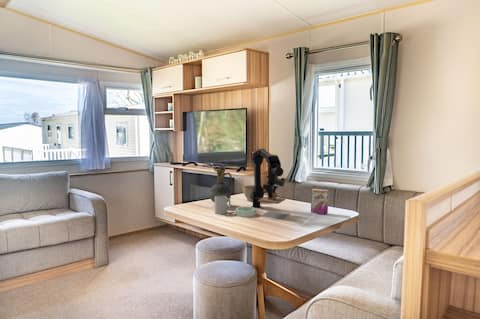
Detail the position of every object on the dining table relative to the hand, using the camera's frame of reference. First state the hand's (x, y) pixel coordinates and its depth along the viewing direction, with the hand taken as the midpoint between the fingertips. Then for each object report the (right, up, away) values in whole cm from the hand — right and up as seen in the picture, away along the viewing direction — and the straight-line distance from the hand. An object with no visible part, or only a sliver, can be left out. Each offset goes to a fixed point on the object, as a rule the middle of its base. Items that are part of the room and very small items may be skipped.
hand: (271, 197), depth 228 cm
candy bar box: (+33, -12, +9) cm, 37 cm away
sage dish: (-17, -12, +2) cm, 21 cm away
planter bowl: (-11, -8, +50) cm, 52 cm away
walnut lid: (0, -2, 0) cm, 2 cm away
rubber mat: (+3, -12, +1) cm, 12 cm away
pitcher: (-34, -9, +30) cm, 46 cm away
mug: (-33, -11, +9) cm, 36 cm away
